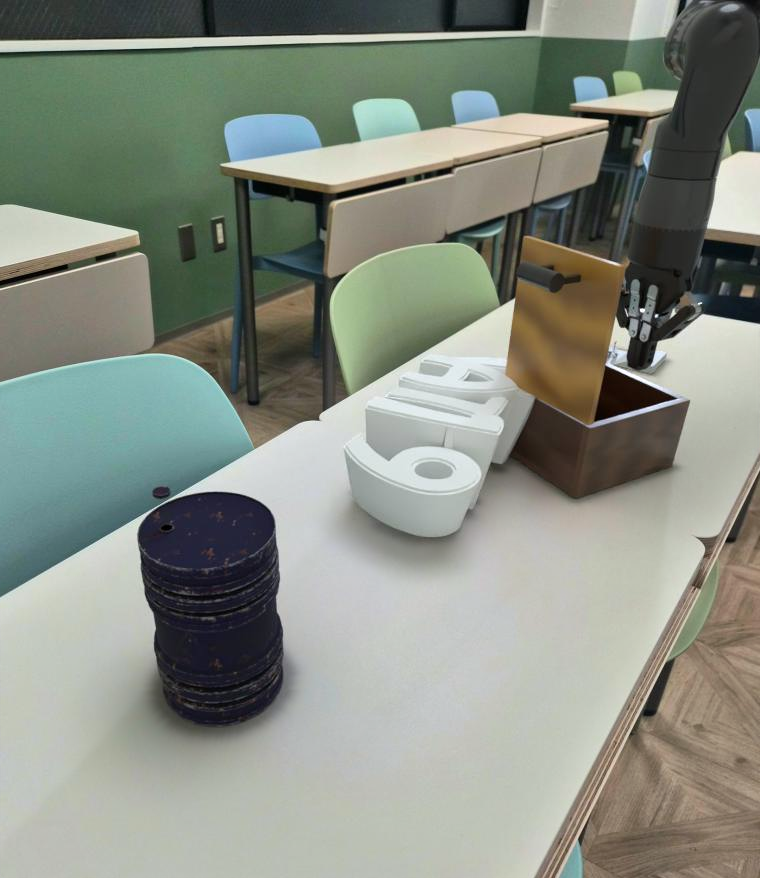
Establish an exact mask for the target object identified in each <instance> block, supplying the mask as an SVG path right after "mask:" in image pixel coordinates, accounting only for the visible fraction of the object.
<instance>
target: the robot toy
mask: <svg viewBox="0 0 760 878" xmlns="http://www.w3.org/2000/svg"><path fill="white" fill-rule="evenodd" d="M616 344H617V341H614V343H613V345H611V344H610V346H609V351H608V356H607V361H606V362H607V363H609V364H611V365H613V366H616V367H619V368H623V369H624V368H625V369H628V370H632V371H637V370H635V369H633V368H630V367H628V366H627V363H628V361H627V357H626V356H627V352H628V350H627V351H626V350H621V349H618V348H617V347H616V346H617V345H616ZM667 356H668V352H665V351H660V350H657V349H656V351H655V354H654V359H653V363H652V364H651V366H649V367H648V368H647V369H644V370H640V371H639V372H641V373H645V374H649V375H652V374H653V373H654V372H655V371H657V369H658V368H659V367H660V366H661V365H663V363H664V362H665V361H666V359H667ZM637 372H638V371H637Z"/></svg>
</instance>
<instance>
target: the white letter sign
mask: <svg viewBox="0 0 760 878" xmlns="http://www.w3.org/2000/svg"><path fill="white" fill-rule="evenodd" d="M506 364H507V358H501V357H500V358H499V357H486V356H485V357H483V356H462V357H459V356H458V357H454V356H448V355H443V354H437V353H429V354H427V355H425V356H424V357H423V358H422V359H421V360H420V365H419V370H418V372H415V371H412V370H411V371H410V370H408V371H406V372H405V373H403V374H402V375H400V377H399V378H398V379H399V380H398V386H396V387H394V388H393V389H391V390H390V391H389V392H387V393H386V395H385V396H384V397H383V396H380V395H376V396H374V397H373V398H371V399H369V400H368V402H367V403H366V404H365V410H364V411H365V439H364V437H363V435H362V433H361V432H358V433H357V434H356V435H354V436H353V437H352V438H350V439H349V440H348V441H347V442H346V443H345V444H344V445H343V453H344V458H345V464H346V470H347V475H348V480H349V486H350V492H351V496H352V498H353V500H354V501H355V502H356V504H357V506H359V507H360V508H361V509H363V510H364V511H365V512H366V513H367V514H369V515H370V516H372V517H373V518H375V520H378V521H379V522H381V523H382V524H385V525H387V526H389V527H392V528H394V529H396V530H398V531H401V532H404V533H406V534H409V535H413V536H418V537H423V538H439V537H445V536H449V535H451V534H453V533H455V532H457V531H458V530H459V529H460V527H461V525H462V523H463V521H464V518H465V516H466V514H467V512H468V510H473V509H474V508H475V507H476V503H477V501H478V498H479V495H480V493H481V490H482V488H483V485H484V482H485V479H486V477H487V474H488V471H489V469H490V465H491V463H493V464H500V465H503V464H504V463H506V462H507V461H508V458H509V457H510V453H511V451H512V449H513V447H514V445H515V443H516V441H517V439H518V437H519V435H520V433H521V431H522V430H523V428H524V426H525V424H526V422H527V419H528V417H529V415H530V412H531V409H532V406H533V404H534V400H535V398H537V397H535V396H533V395H531V394H530V393H528V392H526V391H524V390H522V389H521V388H519V387H518V386H517V385H516V384H515V383H514V382H513V381H512V380H511V379H510V378H509V377H508V376H506V375H505V371H506Z"/></svg>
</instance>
